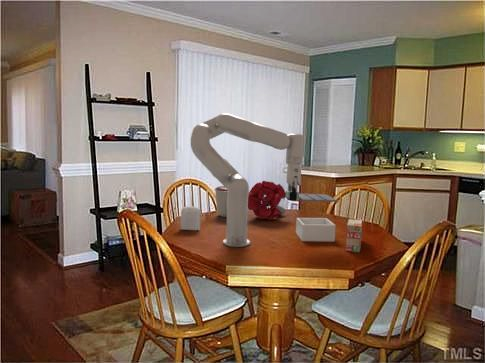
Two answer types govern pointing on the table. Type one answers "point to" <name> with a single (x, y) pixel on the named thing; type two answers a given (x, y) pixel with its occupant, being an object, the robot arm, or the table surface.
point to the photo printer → (190, 218)
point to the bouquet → (266, 200)
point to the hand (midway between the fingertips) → (291, 199)
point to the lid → (312, 197)
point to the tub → (315, 229)
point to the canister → (221, 200)
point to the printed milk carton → (353, 235)
